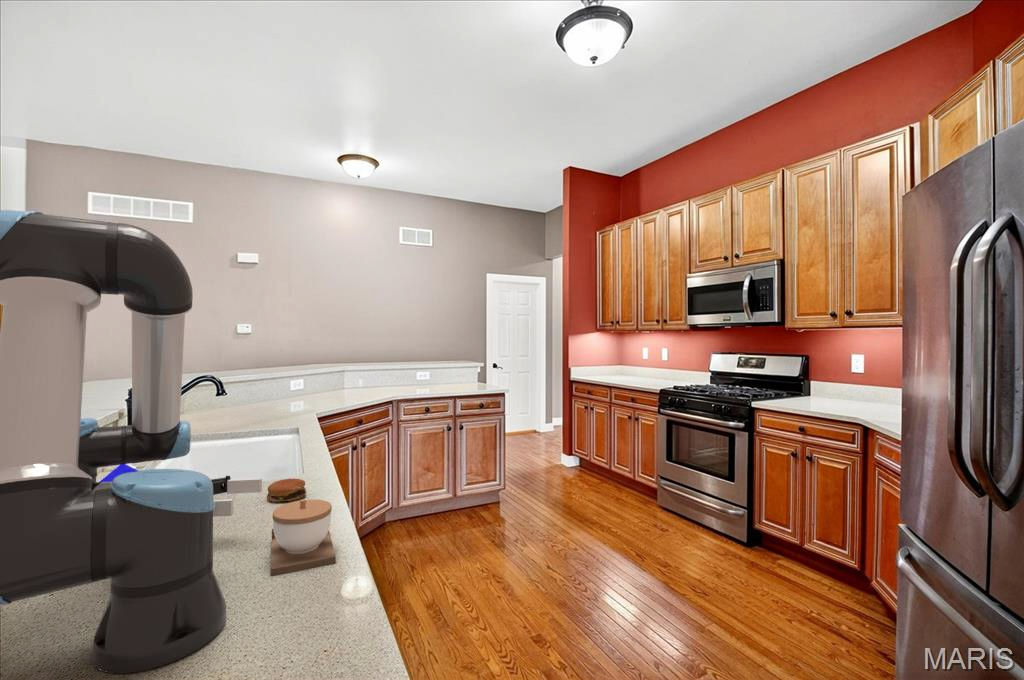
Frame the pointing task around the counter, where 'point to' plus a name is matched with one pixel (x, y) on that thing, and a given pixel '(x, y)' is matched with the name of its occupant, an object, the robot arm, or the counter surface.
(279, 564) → the walnut board
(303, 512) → the lidded jar
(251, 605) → the counter surface
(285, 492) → the burger
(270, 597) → the counter surface
